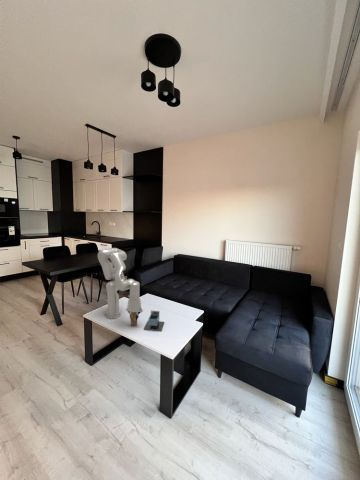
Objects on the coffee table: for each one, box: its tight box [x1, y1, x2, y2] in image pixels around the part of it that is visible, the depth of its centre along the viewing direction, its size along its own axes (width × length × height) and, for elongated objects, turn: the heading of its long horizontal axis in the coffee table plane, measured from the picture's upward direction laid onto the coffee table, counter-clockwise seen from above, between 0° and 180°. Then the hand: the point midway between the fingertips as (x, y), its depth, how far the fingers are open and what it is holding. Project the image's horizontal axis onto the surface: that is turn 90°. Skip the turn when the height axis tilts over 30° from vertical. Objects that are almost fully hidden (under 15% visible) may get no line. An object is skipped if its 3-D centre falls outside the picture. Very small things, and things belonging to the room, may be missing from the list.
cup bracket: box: [143, 310, 165, 332], centre depth 156 cm, size 14×12×12 cm
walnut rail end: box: [130, 312, 138, 327], centre depth 157 cm, size 4×4×12 cm
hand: (134, 318), depth 157 cm, fingers closed on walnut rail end, 4 cm apart
